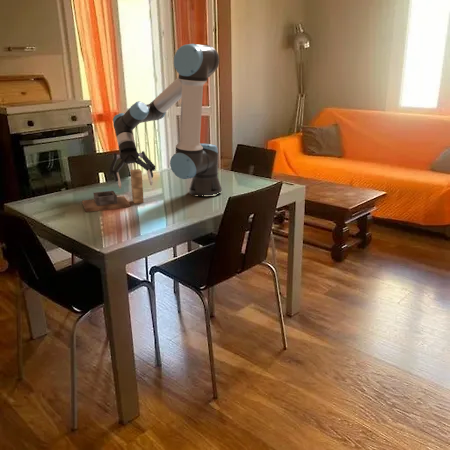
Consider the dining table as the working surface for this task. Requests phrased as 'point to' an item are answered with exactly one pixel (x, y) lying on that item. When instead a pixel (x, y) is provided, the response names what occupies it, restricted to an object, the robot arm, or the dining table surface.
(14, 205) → the dining table surface
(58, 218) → the dining table surface
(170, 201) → the dining table surface
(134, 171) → the tan tall block
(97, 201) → the post base
